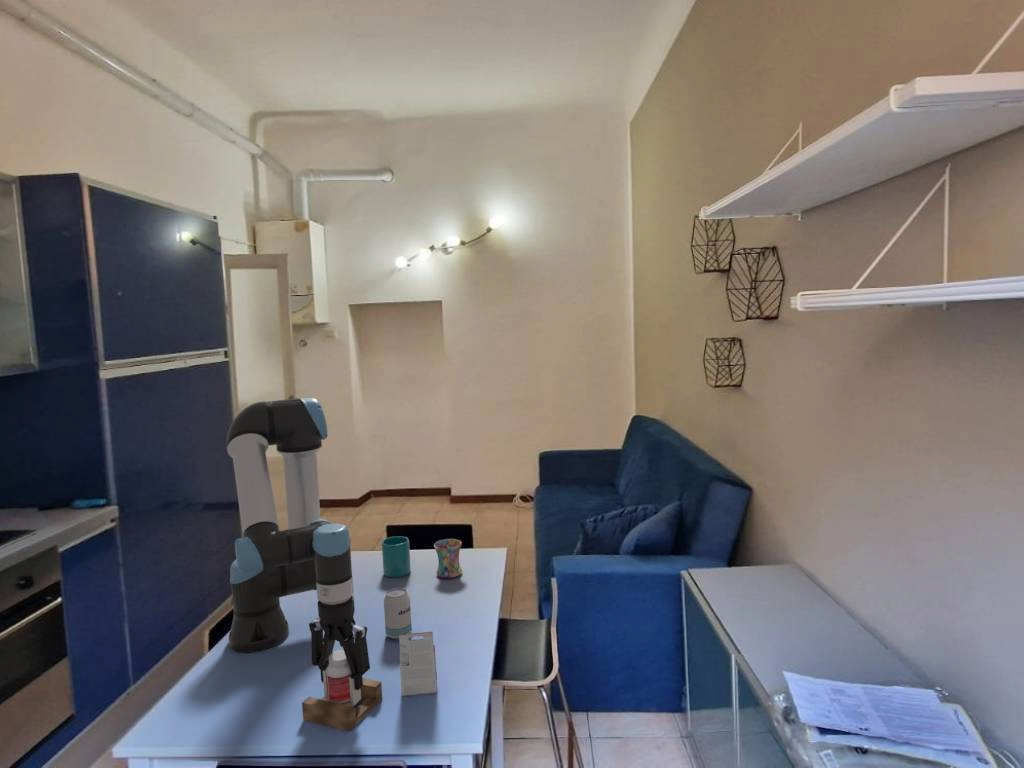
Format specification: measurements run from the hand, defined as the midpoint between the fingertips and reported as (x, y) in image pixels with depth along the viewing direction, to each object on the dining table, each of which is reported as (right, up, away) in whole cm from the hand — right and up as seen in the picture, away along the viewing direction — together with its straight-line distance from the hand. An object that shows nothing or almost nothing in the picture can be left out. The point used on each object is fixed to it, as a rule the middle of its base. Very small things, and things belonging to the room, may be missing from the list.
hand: (343, 698), depth 136 cm
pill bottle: (0, -1, 0) cm, 1 cm away
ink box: (+16, -1, +6) cm, 17 cm away
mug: (+16, +5, +70) cm, 72 cm away
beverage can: (+6, +1, +32) cm, 33 cm away
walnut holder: (0, -2, 0) cm, 2 cm away
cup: (-2, +5, +76) cm, 76 cm away
